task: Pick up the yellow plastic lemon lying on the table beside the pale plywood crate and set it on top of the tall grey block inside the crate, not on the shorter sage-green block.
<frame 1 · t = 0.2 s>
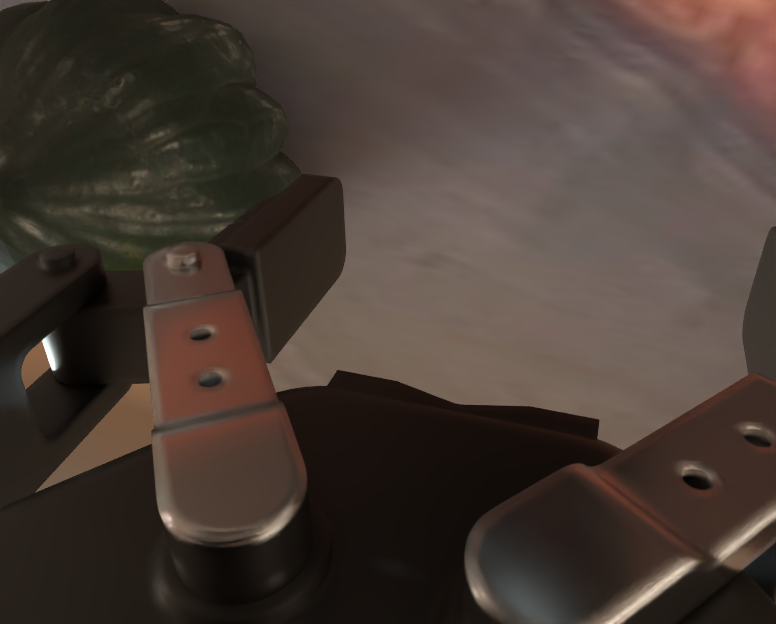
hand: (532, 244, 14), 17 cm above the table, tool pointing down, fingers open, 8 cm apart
squash: (200, 133, 35), on the table
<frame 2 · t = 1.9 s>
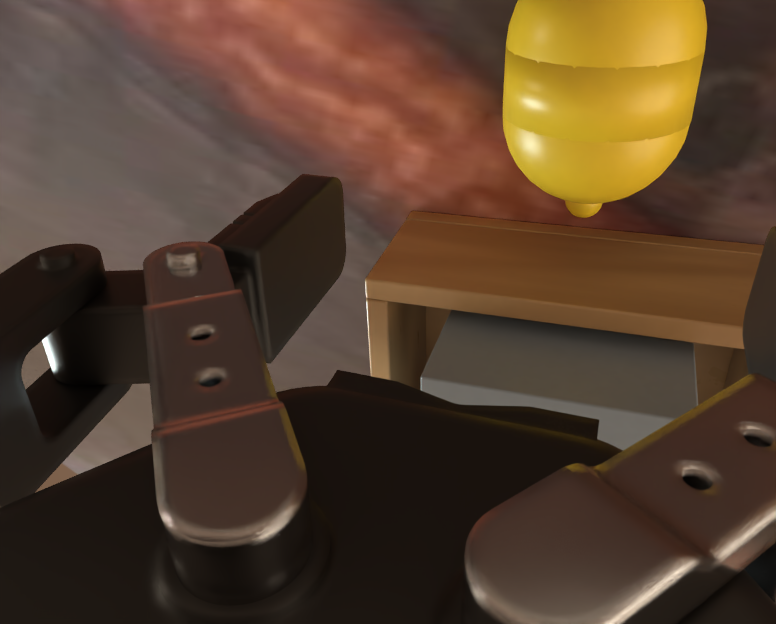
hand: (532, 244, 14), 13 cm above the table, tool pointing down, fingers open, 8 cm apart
crate: (561, 406, 32), on the table
block grey: (569, 343, 30), resting on crate
lemon: (604, 57, 23), on the table
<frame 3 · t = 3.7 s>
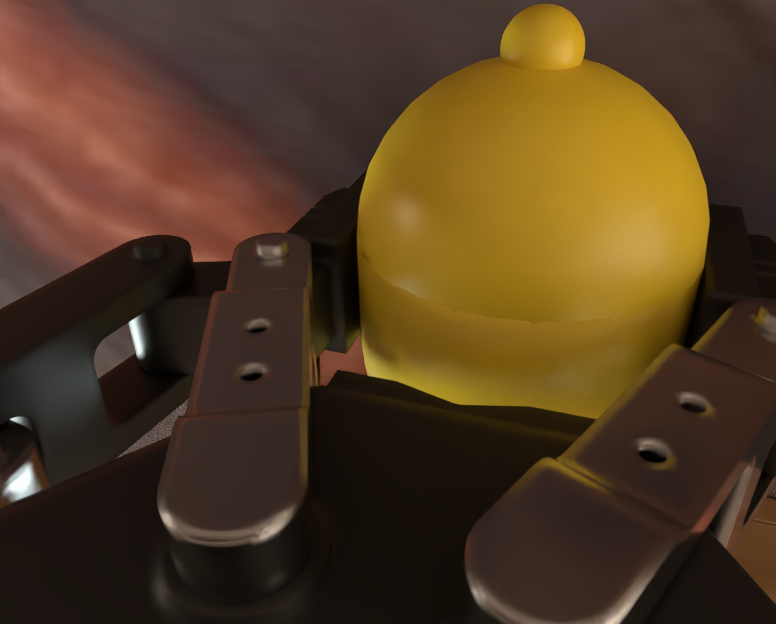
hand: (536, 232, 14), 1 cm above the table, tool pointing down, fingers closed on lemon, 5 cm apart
lemon: (542, 219, 15), on the table, touching gripper
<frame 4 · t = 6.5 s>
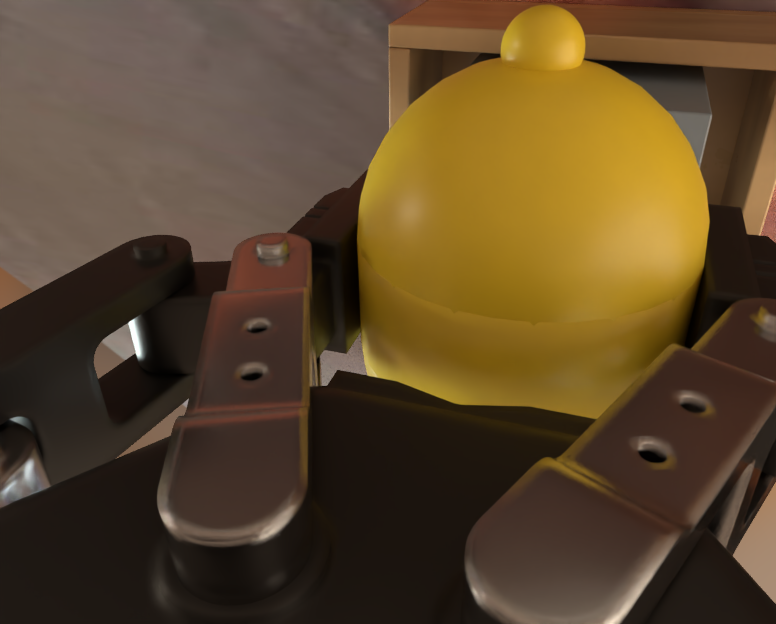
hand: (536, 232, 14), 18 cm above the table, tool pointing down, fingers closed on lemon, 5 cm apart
crate: (569, 211, 32), on the table
block grey: (580, 138, 31), resting on crate
lemon: (542, 219, 15), point 17 cm above the table, touching gripper
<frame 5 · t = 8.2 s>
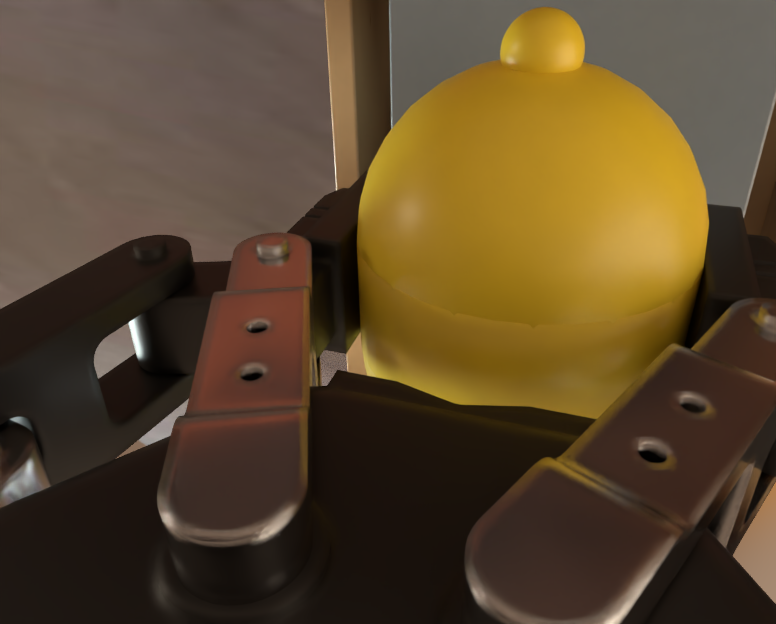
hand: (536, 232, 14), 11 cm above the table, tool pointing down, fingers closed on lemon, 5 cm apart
crate: (577, 182, 25), on the table
block grey: (590, 83, 23), resting on crate
lemon: (541, 221, 15), point 11 cm above the table, touching gripper
when the fingers open (9 cm above the table, at t = 9.4 s): lemon stays where it is, resting on block grey.
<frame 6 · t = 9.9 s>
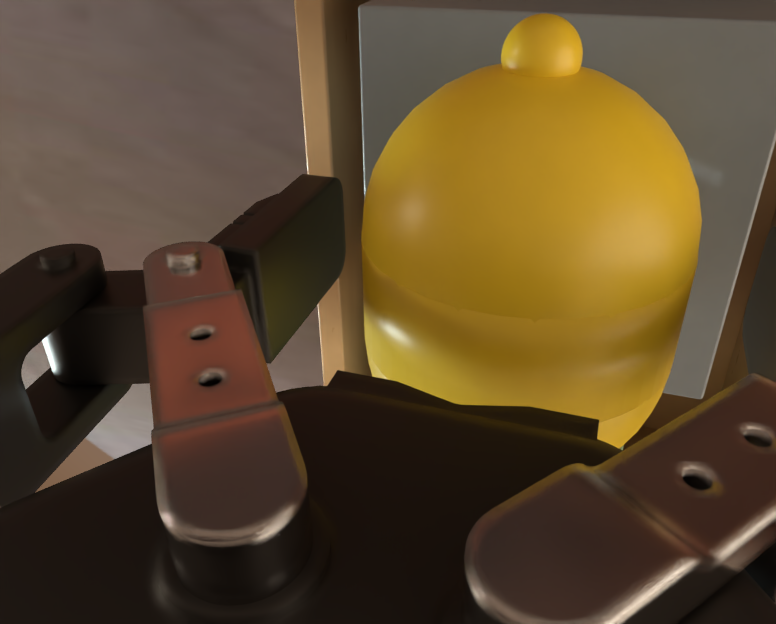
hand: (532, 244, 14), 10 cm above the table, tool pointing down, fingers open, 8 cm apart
crate: (567, 206, 24), on the table
block grey: (581, 104, 22), resting on crate
lemon: (538, 220, 15), point 9 cm above the table, touching block grey
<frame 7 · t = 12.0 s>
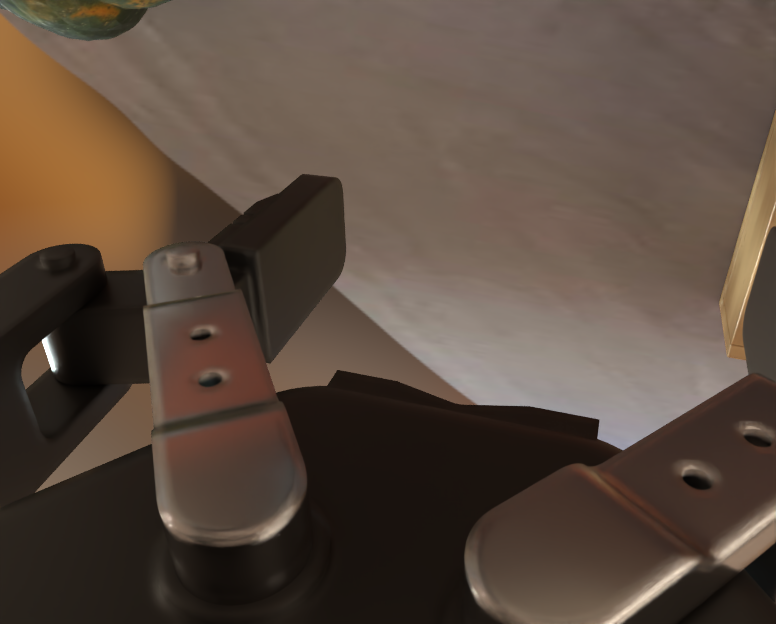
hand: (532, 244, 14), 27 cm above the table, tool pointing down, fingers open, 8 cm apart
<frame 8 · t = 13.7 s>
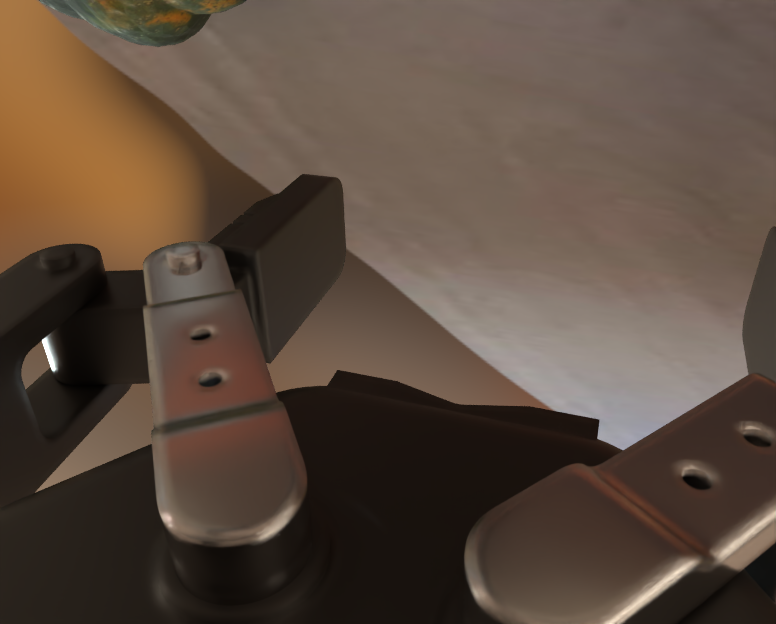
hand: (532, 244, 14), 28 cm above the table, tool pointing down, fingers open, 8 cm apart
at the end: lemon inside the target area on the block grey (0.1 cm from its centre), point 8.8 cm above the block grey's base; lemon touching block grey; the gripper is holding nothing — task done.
